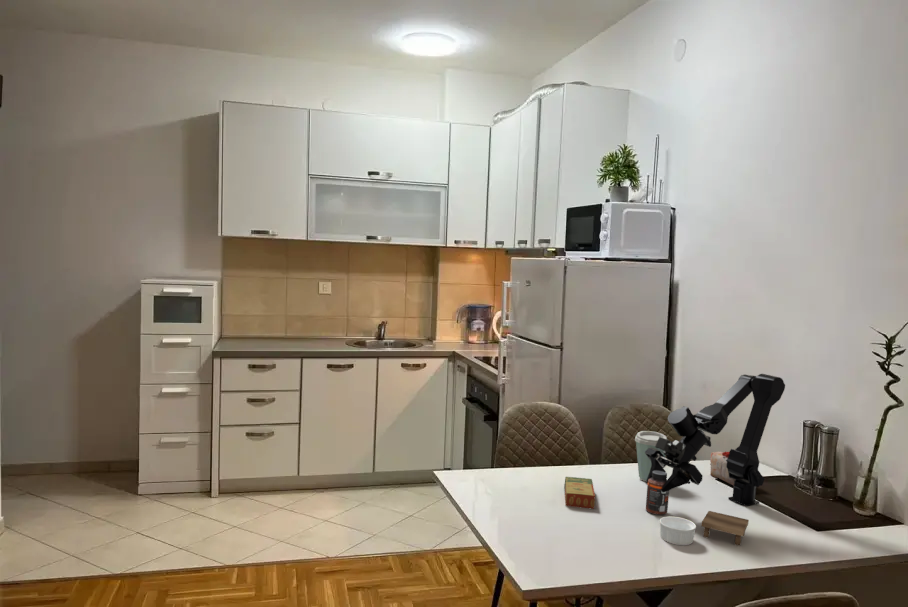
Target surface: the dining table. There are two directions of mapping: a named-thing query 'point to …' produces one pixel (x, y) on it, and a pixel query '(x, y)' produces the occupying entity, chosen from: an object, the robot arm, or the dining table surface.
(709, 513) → the stool
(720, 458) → the food item
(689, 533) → the ramekin
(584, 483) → the carton
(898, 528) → the dining table surface
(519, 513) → the dining table surface
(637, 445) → the disposable coffee cup
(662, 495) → the supplement bottle
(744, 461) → the robot arm
